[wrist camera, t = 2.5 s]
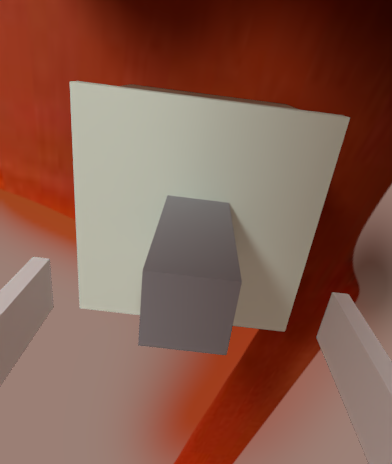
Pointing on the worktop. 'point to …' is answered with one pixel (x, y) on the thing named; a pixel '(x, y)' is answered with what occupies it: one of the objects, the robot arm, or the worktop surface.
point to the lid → (196, 209)
